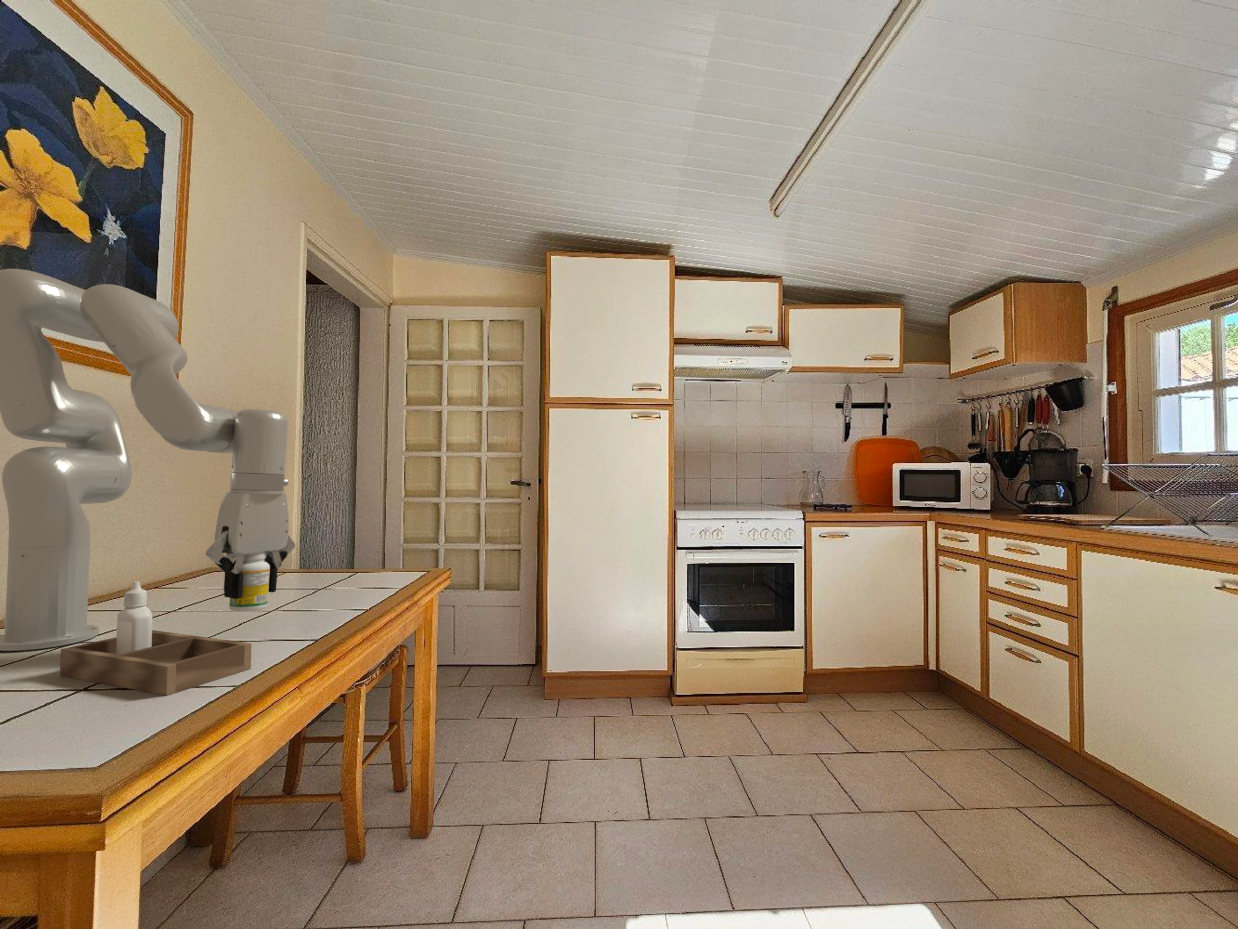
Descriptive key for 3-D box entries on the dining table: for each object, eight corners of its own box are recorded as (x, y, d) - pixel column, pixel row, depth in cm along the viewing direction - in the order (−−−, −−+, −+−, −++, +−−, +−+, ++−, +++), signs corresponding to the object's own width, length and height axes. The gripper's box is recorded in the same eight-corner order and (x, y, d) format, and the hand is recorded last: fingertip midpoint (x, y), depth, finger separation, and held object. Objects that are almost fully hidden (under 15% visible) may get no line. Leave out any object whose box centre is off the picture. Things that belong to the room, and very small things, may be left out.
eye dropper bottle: (106, 676, 77) (110, 586, 78) (118, 664, 82) (121, 580, 82) (148, 671, 79) (151, 583, 80) (157, 660, 84) (160, 577, 85)
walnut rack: (59, 675, 77) (60, 649, 77) (149, 653, 88) (150, 629, 88) (166, 695, 70) (167, 666, 70) (250, 668, 81) (251, 643, 81)
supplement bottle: (266, 611, 94) (269, 551, 94) (226, 613, 91) (230, 552, 92) (268, 604, 99) (272, 548, 99) (231, 606, 96) (234, 548, 96)
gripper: (286, 484, 105) (279, 584, 104) (188, 482, 89) (180, 601, 88) (317, 486, 102) (311, 588, 102) (223, 484, 86) (215, 606, 86)
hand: (250, 593), depth 95 cm, fingers closed on supplement bottle, 5 cm apart
